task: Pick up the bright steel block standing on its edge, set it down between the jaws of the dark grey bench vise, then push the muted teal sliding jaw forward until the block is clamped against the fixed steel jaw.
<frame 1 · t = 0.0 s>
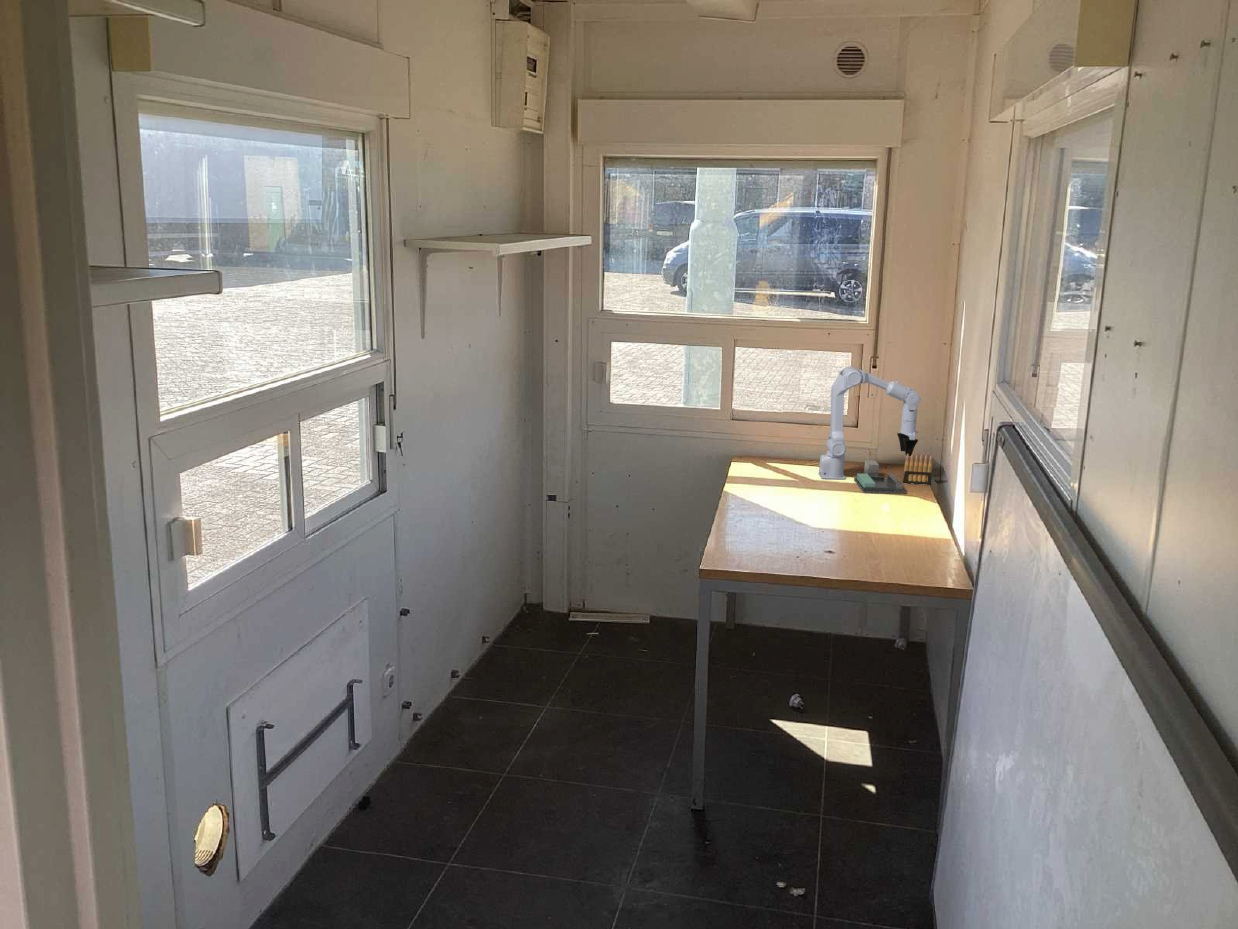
hand: (906, 453, 429), 10 cm above the table, tool pointing down, fingers open, 7 cm apart
sliding jaw: (865, 480, 417), point 2 cm above the table, slide at 0.0 cm
steel block: (870, 477, 432), on the table
ammunition clip: (916, 484, 424), on the table
vise bed: (879, 487, 418), on the table
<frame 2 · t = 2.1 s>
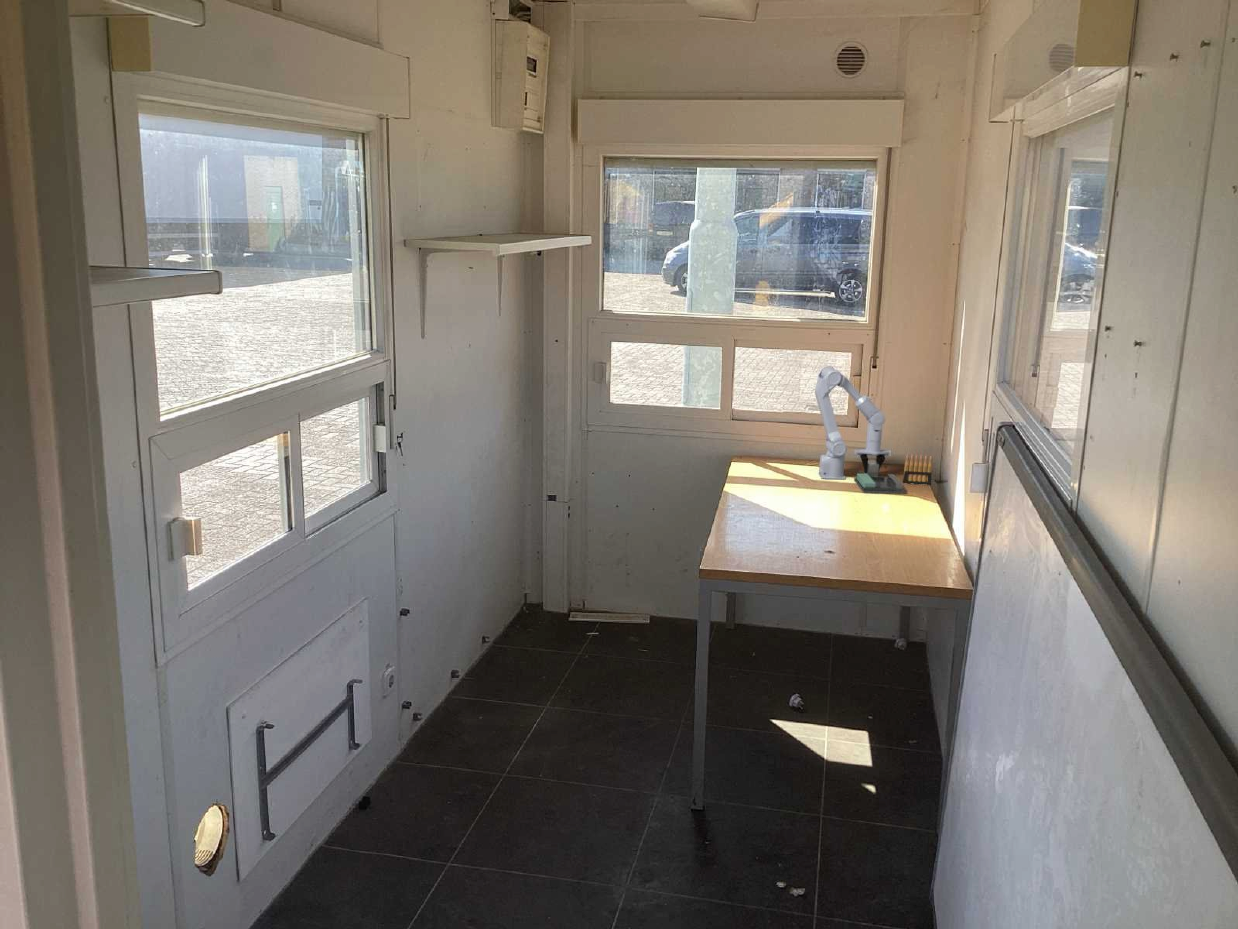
hand: (871, 472, 432), 2 cm above the table, tool pointing down, fingers closed on steel block, 4 cm apart
steel block: (870, 476, 432), on the table, touching gripper
everything else where it was.
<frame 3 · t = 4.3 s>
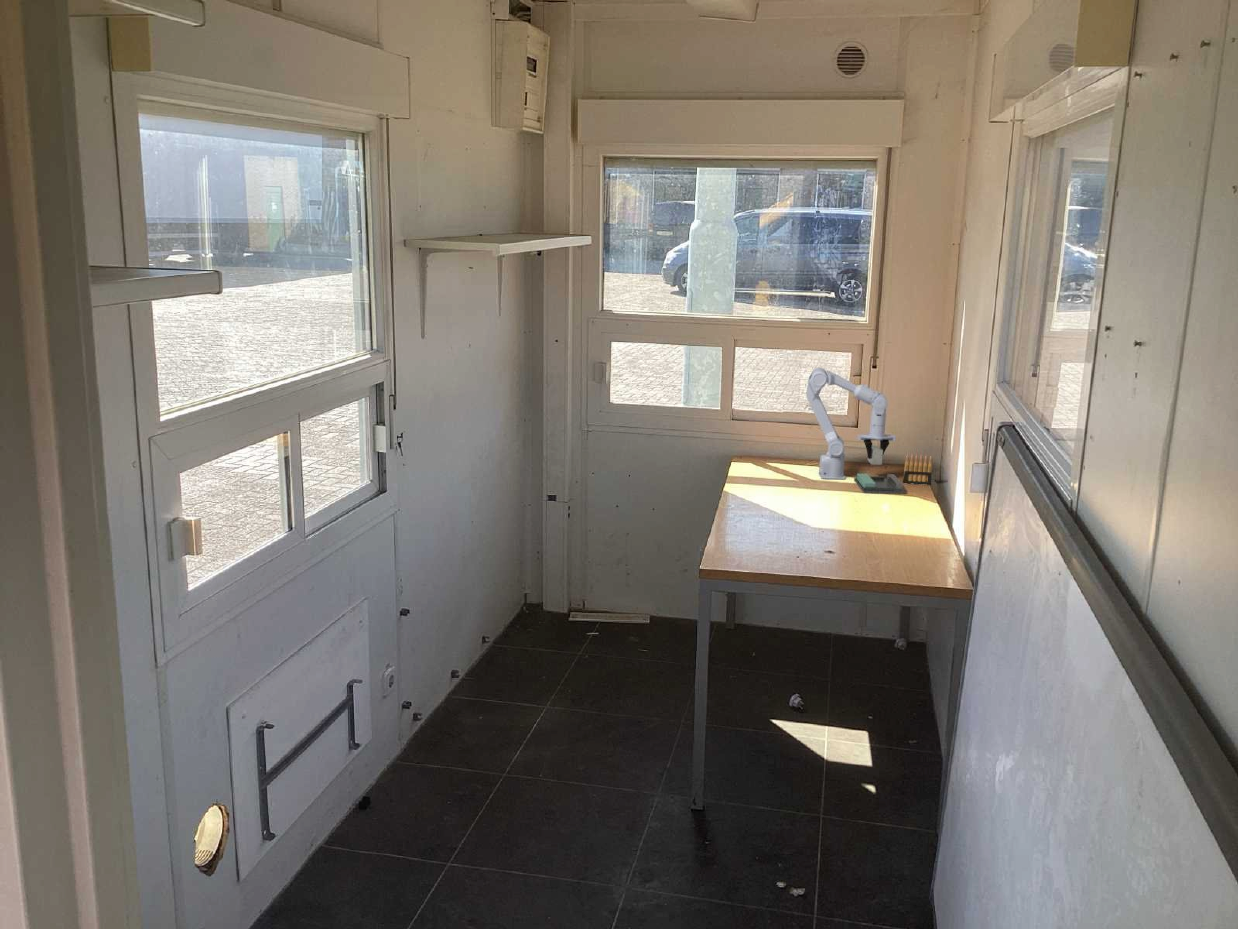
hand: (874, 458, 427), 9 cm above the table, tool pointing down, fingers closed on steel block, 4 cm apart
steel block: (874, 462, 427), point 7 cm above the table, touching gripper
everything else where it was.
when the fingers open (4 cm above the table, at t = 6.8 s): steel block drops 1 cm, resting on vise bed.
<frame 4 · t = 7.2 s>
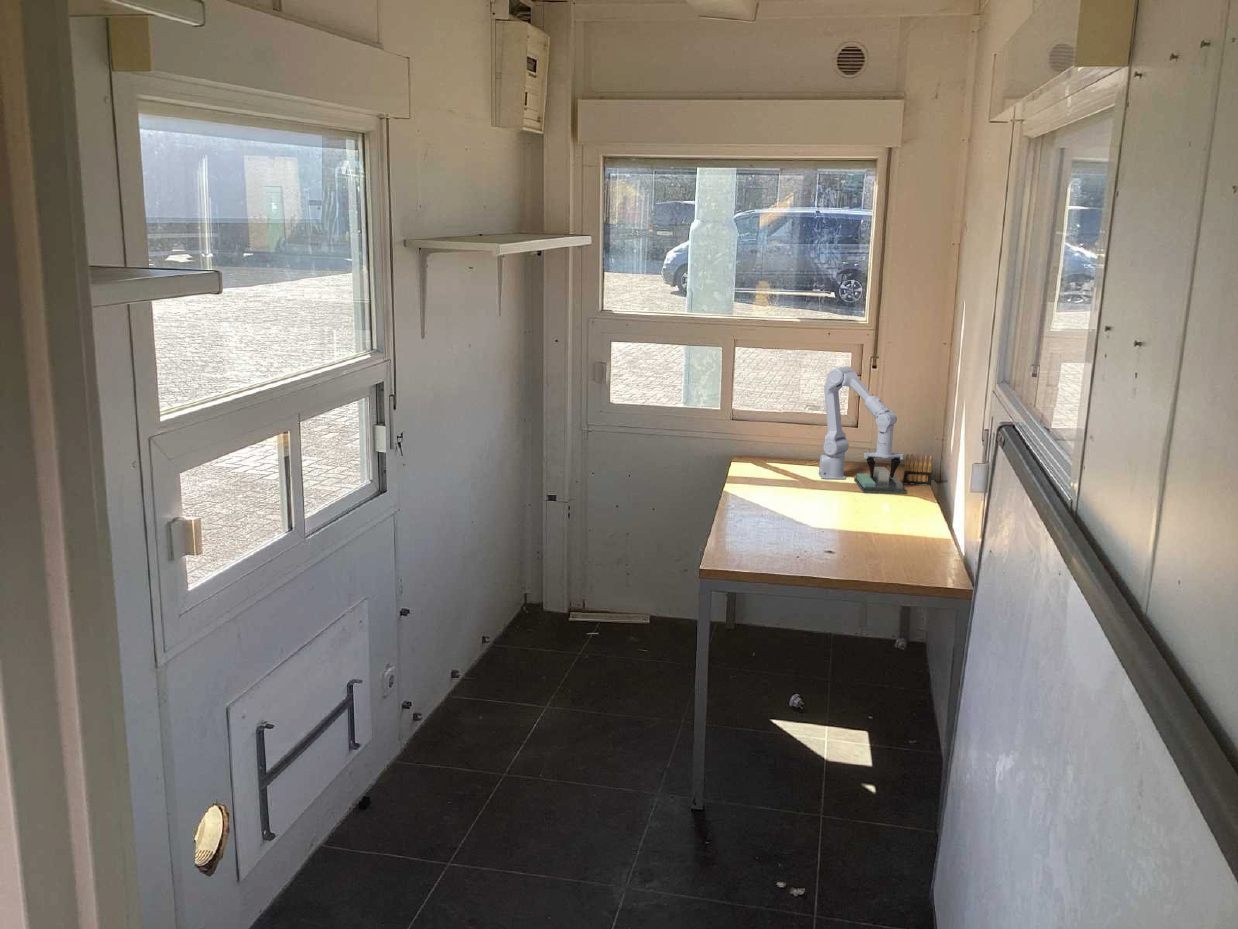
hand: (881, 476, 417), 4 cm above the table, tool pointing down, fingers open, 7 cm apart
steel block: (880, 484, 418), point 1 cm above the table, touching vise bed
everything else where it was.
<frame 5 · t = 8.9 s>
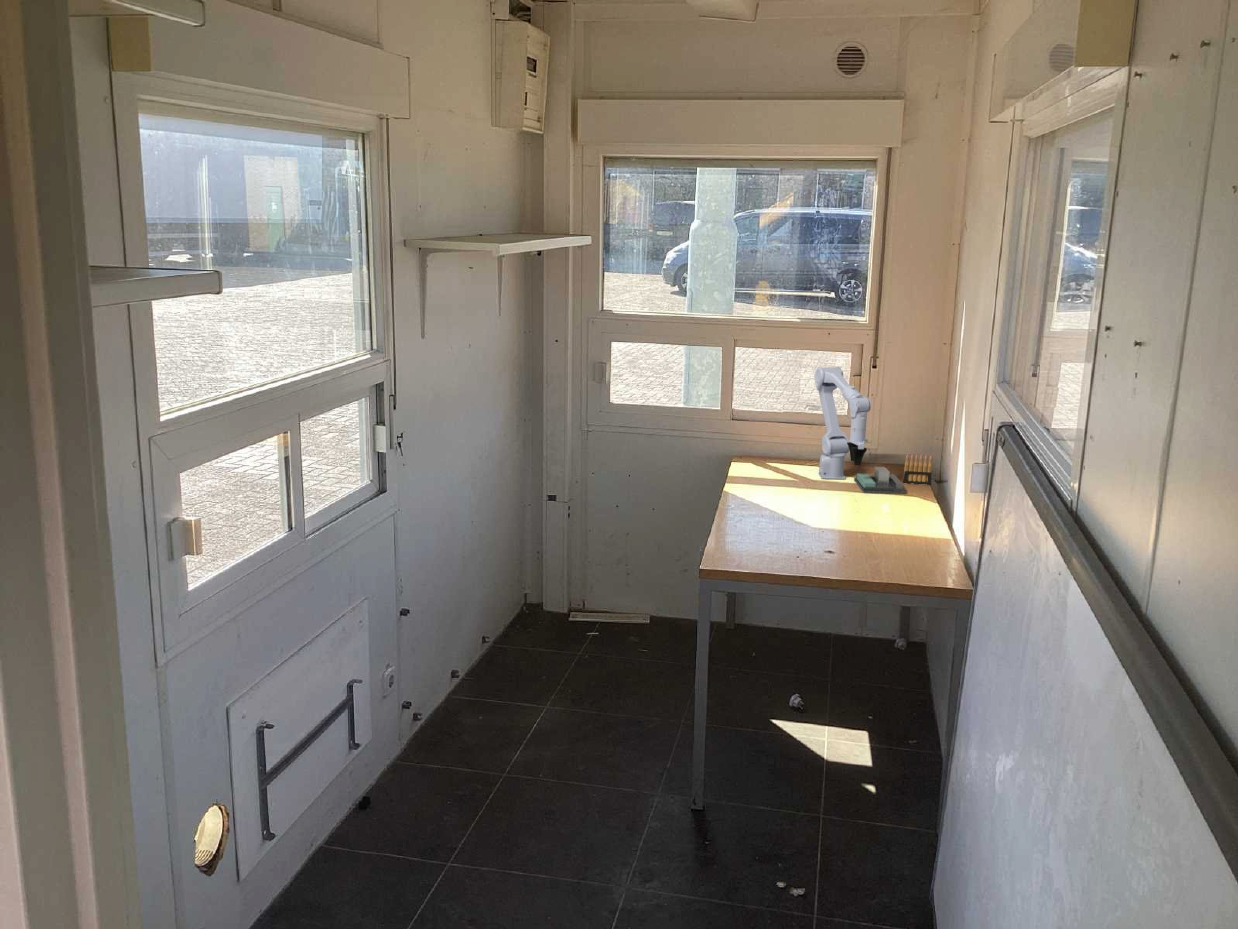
hand: (855, 463, 415), 9 cm above the table, tool pointing down, fingers open, 6 cm apart
nothing on the table moved.
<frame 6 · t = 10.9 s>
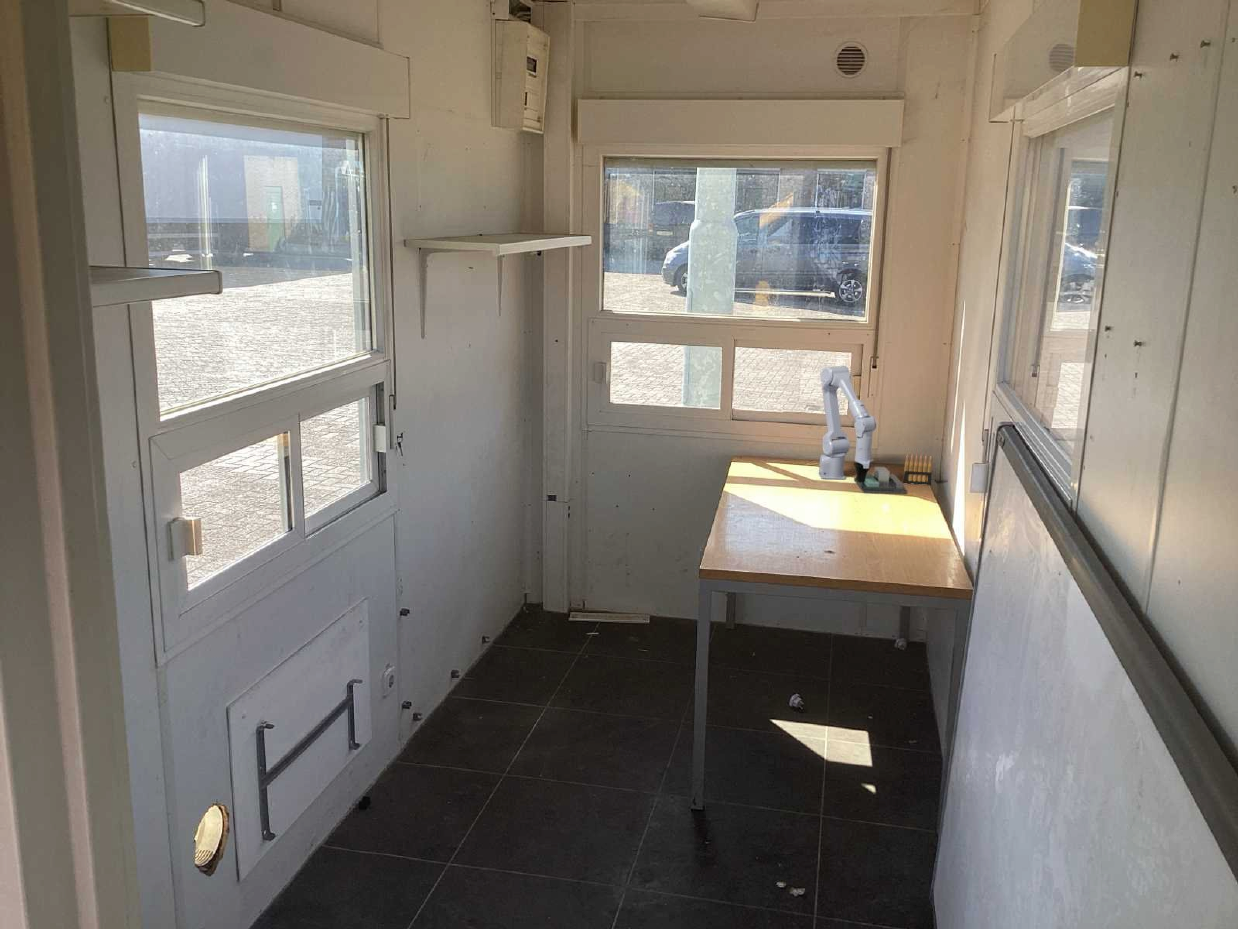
hand: (860, 482, 417), 2 cm above the table, tool pointing down, fingers closed, pressing on sliding jaw
sliding jaw: (869, 481, 417), point 2 cm above the table, slide at 1.5 cm, touching gripper
everything else where it was.
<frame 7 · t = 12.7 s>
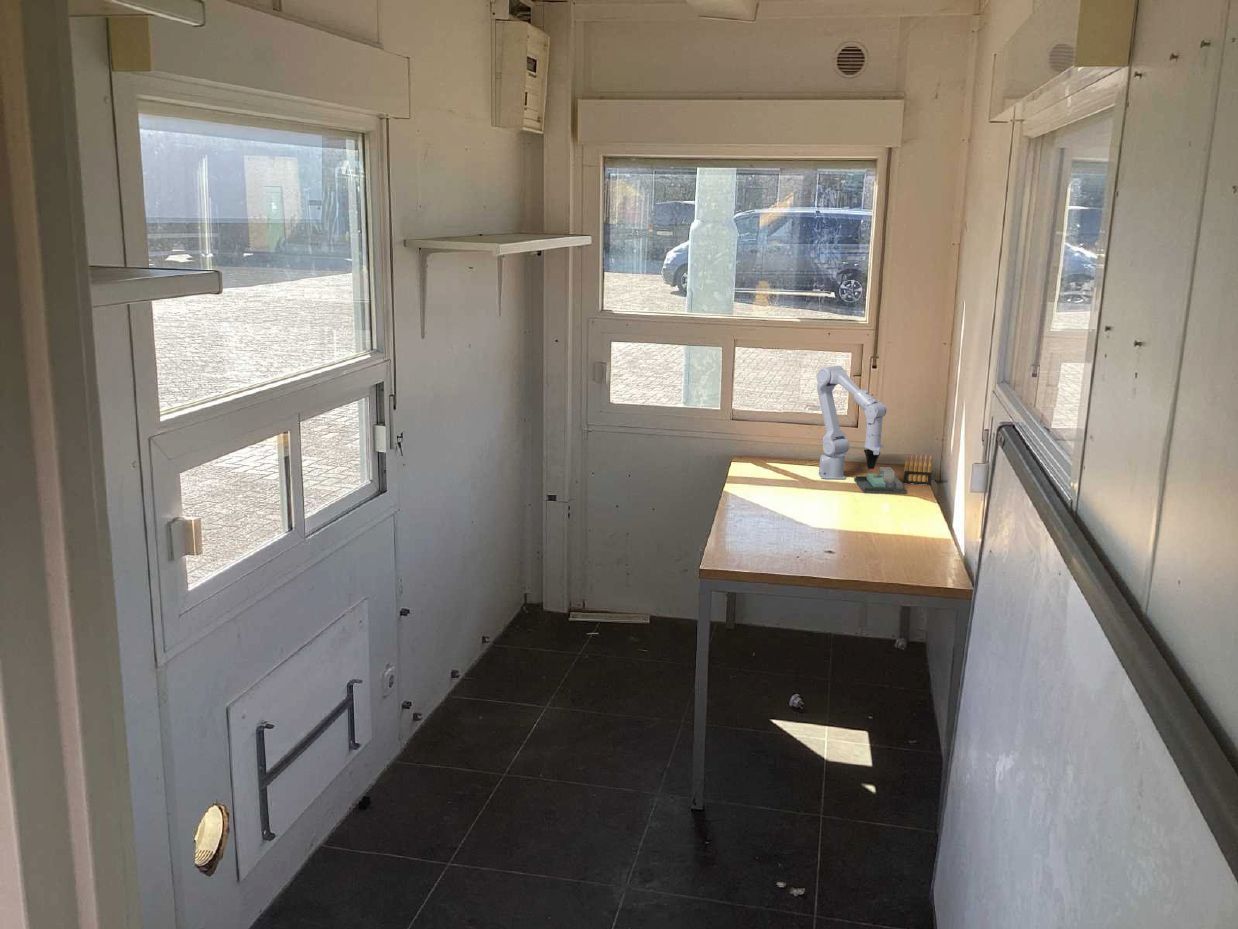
hand: (870, 468, 416), 7 cm above the table, tool pointing down, fingers closed
sliding jaw: (876, 481, 417), point 2 cm above the table, slide at 4.0 cm
steel block: (886, 484, 418), point 1 cm above the table, touching vise bed
everything else where it was.
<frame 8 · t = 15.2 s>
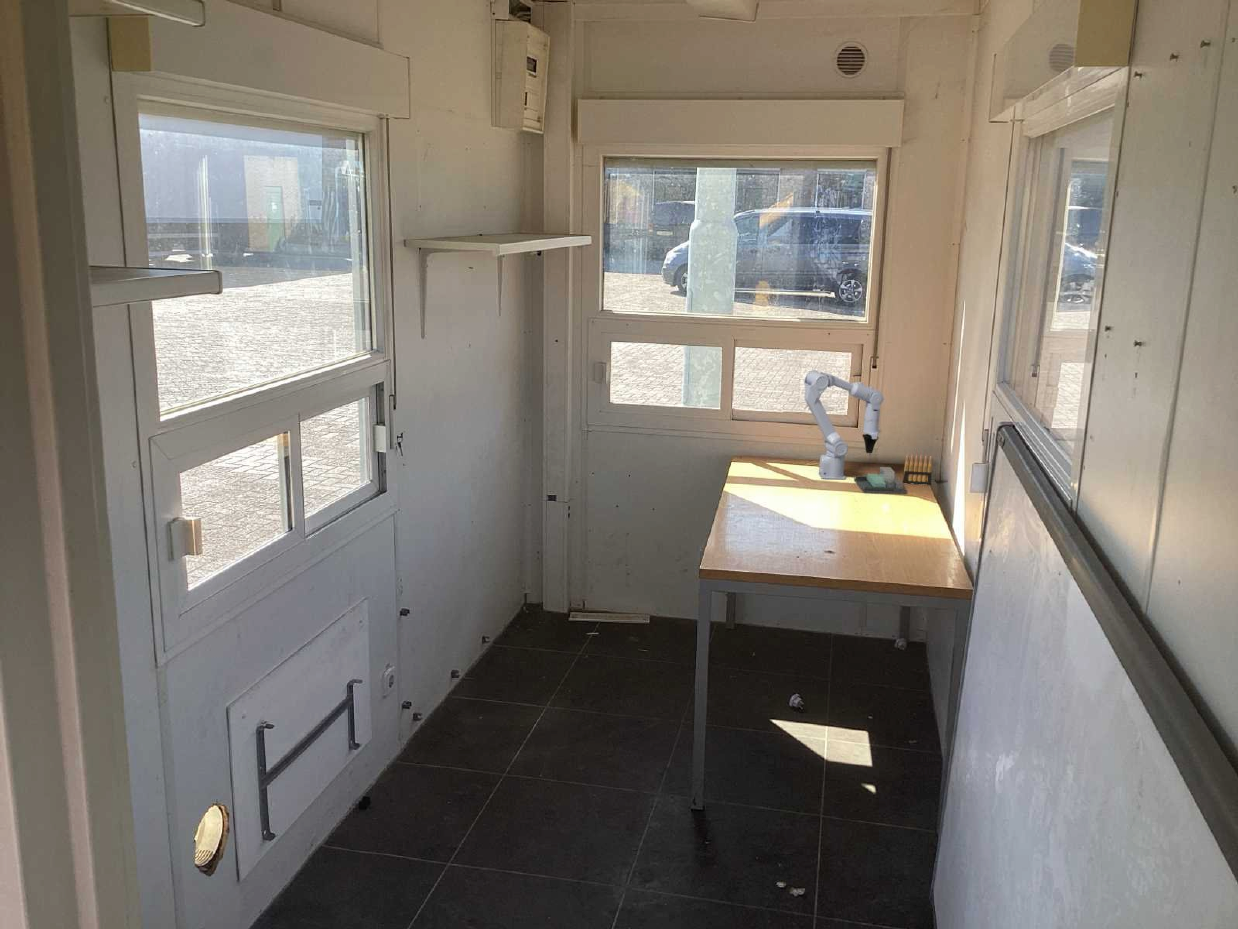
hand: (869, 452, 432), 9 cm above the table, tool pointing down, fingers closed
nothing on the table moved.
at the end: sliding jaw slide at 4.0 cm; steel block 0.3 cm from the target spot on the vise bed, point 1.0 cm above the vise bed's base; steel block tilted 0° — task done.
